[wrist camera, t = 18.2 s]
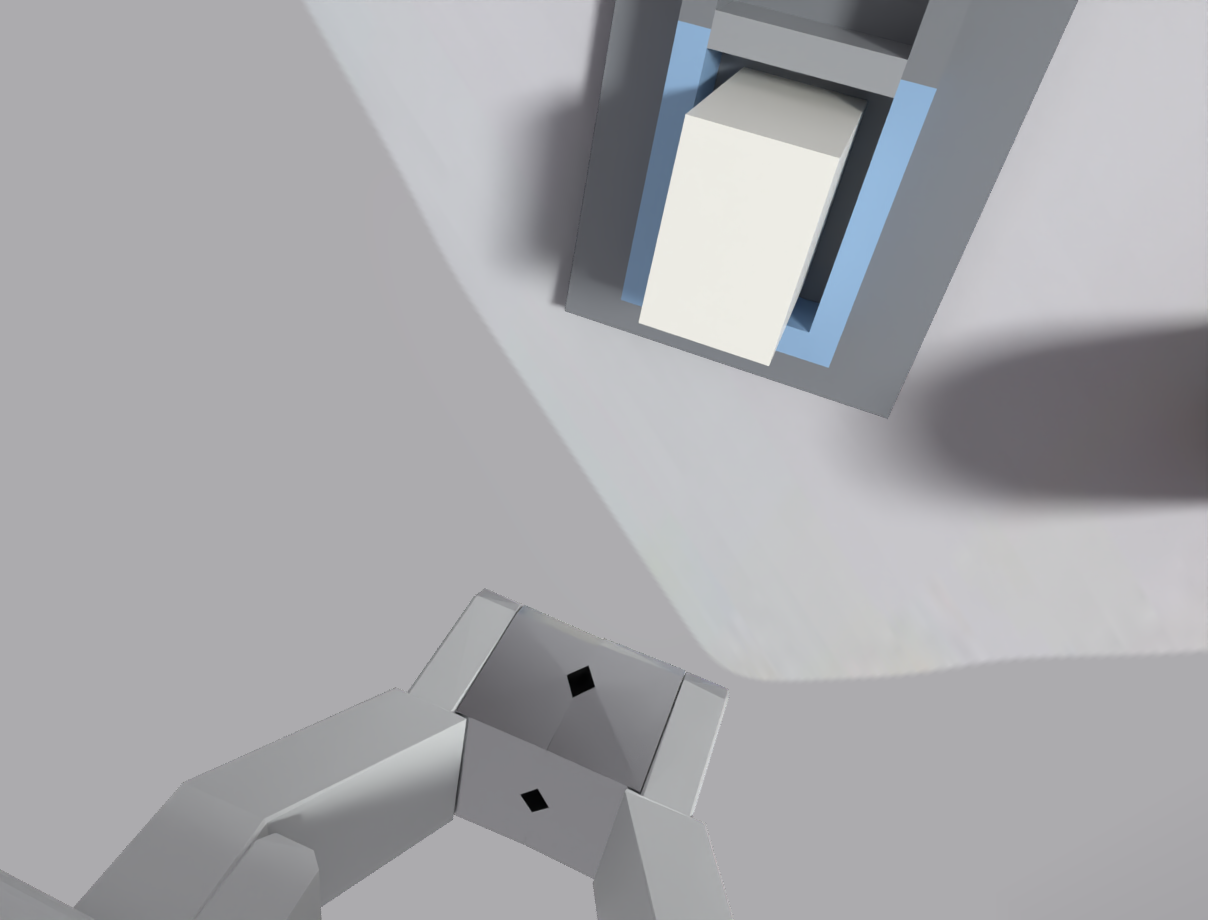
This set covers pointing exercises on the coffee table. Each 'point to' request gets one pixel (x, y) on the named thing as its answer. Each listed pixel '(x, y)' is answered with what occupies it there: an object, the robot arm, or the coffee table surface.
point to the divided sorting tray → (869, 181)
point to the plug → (747, 210)
